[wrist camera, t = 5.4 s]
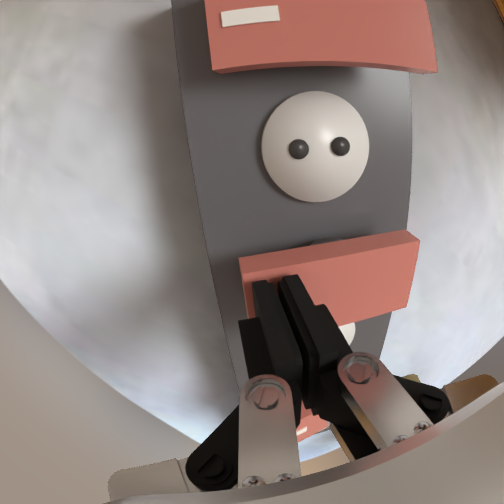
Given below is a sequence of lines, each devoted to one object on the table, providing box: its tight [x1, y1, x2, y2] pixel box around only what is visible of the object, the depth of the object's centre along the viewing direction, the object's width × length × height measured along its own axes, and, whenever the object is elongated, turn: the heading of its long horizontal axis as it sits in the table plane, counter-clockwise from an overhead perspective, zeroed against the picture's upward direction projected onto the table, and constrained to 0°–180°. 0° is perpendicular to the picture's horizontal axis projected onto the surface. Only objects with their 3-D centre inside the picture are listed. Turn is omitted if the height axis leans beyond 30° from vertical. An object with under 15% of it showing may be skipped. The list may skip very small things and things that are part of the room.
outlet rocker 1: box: [204, 0, 438, 74], centre depth 7 cm, size 4×8×2 cm, turn 96°
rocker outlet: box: [296, 401, 329, 442], centre depth 17 cm, size 4×8×2 cm, turn 96°
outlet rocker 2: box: [239, 229, 420, 327], centre depth 12 cm, size 4×8×2 cm, turn 96°
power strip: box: [171, 0, 412, 434], centre depth 15 cm, size 37×10×3 cm, turn 6°
